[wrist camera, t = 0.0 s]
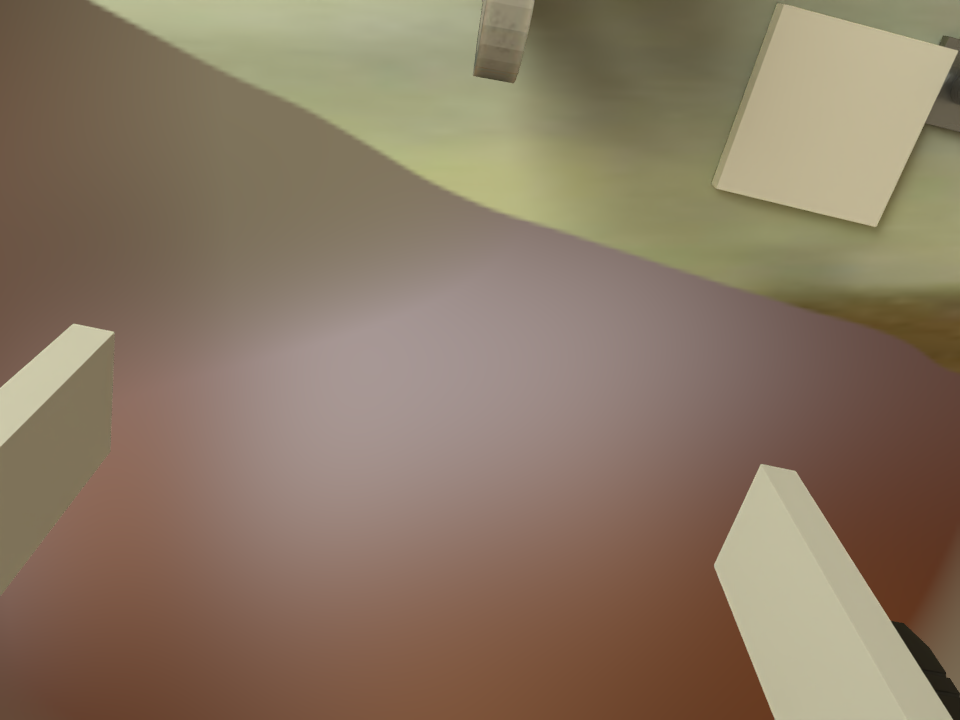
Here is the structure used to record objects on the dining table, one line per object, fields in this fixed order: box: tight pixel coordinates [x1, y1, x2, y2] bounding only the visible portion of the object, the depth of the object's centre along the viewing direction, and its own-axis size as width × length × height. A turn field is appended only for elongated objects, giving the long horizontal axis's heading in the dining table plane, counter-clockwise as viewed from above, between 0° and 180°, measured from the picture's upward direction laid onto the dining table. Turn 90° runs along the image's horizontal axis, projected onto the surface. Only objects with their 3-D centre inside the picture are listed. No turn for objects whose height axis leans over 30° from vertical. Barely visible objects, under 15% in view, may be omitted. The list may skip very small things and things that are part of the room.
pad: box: [711, 3, 958, 227], centre depth 40 cm, size 9×9×1 cm
